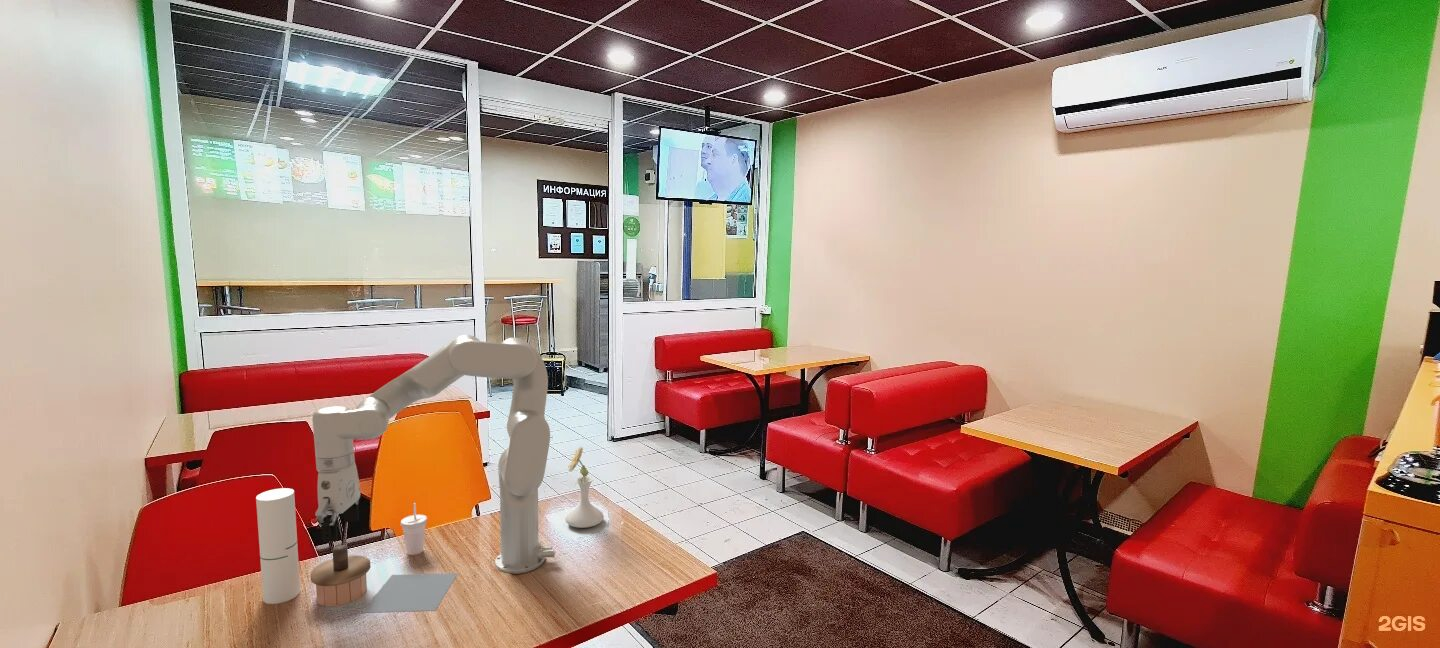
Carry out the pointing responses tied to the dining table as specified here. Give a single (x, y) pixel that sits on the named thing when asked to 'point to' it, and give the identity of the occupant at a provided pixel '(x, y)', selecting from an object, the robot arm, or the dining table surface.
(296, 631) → the dining table surface
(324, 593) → the bowl
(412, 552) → the smoothie
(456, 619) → the dining table surface
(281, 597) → the cylindrical container
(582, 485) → the flower in vase
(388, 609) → the mat
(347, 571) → the lid
